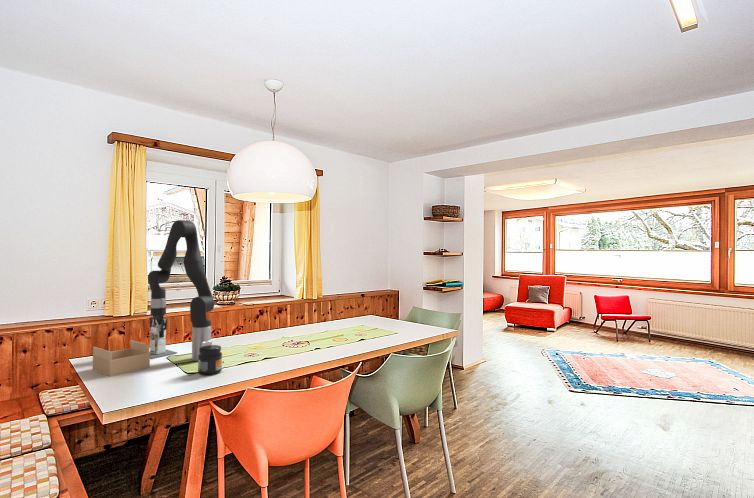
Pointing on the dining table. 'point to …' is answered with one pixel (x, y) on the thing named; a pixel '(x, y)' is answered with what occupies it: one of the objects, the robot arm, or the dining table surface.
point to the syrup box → (157, 341)
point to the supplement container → (209, 360)
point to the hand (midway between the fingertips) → (158, 336)
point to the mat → (162, 354)
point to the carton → (121, 359)
